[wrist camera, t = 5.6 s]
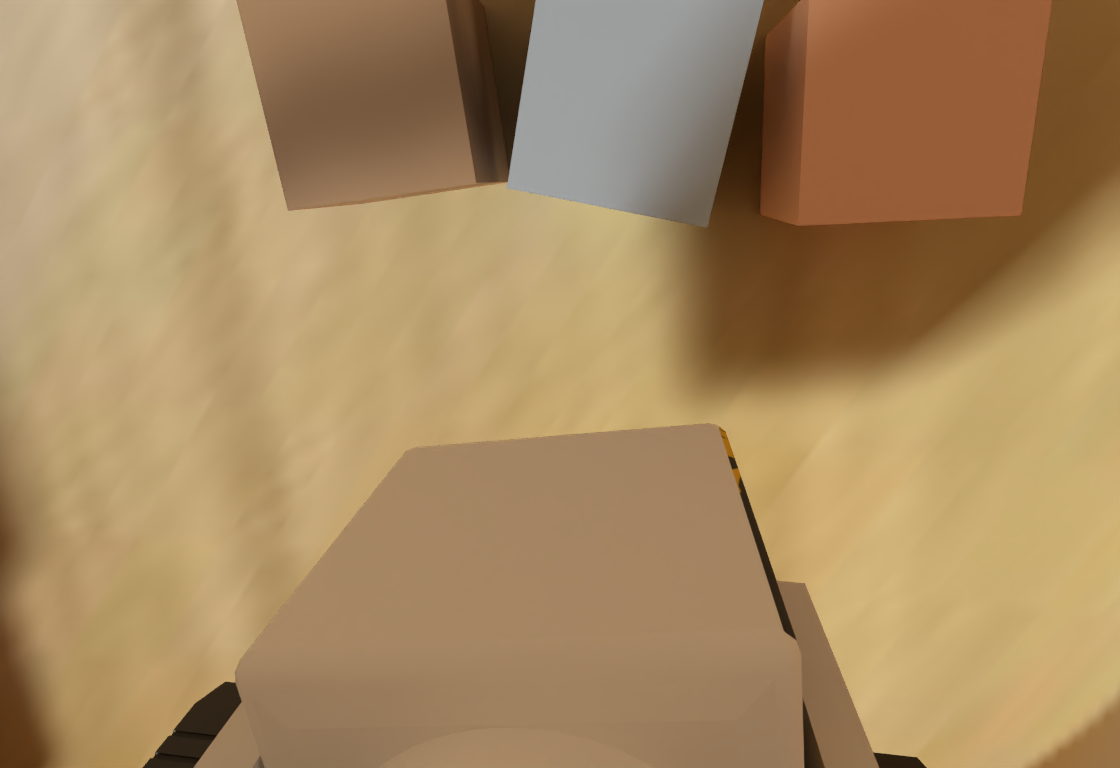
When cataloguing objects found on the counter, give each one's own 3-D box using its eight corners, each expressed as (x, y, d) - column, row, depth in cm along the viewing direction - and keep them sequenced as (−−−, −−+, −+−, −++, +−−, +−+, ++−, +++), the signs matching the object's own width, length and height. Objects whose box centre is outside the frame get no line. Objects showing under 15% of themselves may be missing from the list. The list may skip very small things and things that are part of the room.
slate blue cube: (563, 11, 20) (542, -42, 15) (731, 42, 19) (764, -1, 15) (534, 185, 21) (506, 187, 16) (689, 215, 21) (707, 227, 16)
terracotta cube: (765, 36, 19) (809, -10, 14) (948, 22, 19) (1057, -31, 14) (759, 214, 21) (797, 226, 16) (928, 206, 20) (1021, 215, 15)
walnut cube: (327, 36, 20) (235, -7, 16) (484, 7, 20) (438, -46, 15) (362, 203, 22) (288, 210, 17) (511, 181, 21) (476, 182, 16)
